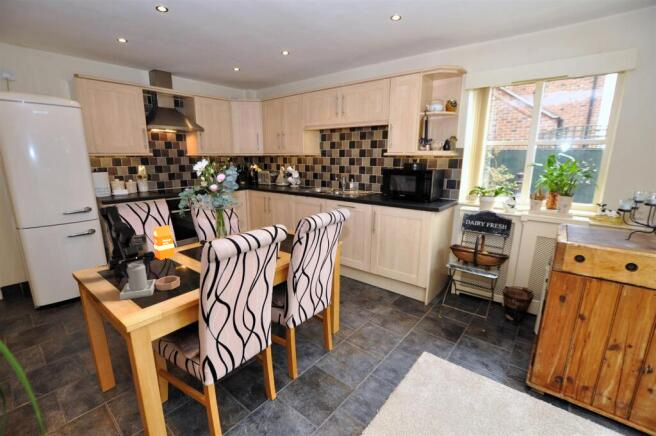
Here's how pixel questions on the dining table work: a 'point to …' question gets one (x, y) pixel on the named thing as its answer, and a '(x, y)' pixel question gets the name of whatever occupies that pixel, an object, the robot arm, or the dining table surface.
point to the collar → (161, 286)
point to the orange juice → (163, 242)
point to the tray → (138, 291)
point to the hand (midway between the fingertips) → (137, 275)
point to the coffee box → (141, 240)
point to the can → (137, 276)
